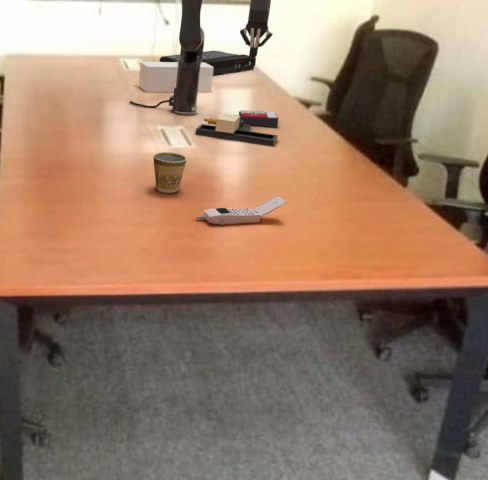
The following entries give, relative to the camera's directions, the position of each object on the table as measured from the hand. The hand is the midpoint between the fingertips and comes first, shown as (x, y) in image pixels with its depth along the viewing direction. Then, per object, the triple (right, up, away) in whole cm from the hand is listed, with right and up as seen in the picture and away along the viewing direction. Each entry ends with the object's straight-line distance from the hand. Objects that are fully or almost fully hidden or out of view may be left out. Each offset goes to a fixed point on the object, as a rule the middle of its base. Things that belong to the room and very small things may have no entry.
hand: (252, 57), depth 295 cm
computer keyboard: (-6, +42, +107) cm, 115 cm away
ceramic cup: (-36, -67, -59) cm, 96 cm away
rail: (-7, -33, -5) cm, 34 cm away
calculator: (+4, -20, +16) cm, 26 cm away
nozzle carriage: (-13, -30, -4) cm, 33 cm away
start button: (-6, -23, +5) cm, 24 cm away
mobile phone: (-17, -82, -79) cm, 115 cm away
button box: (-7, -25, +6) cm, 27 cm away
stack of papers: (-27, +12, +60) cm, 67 cm away
